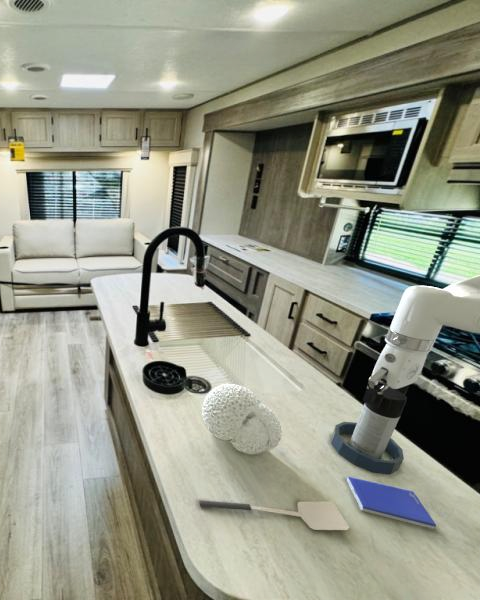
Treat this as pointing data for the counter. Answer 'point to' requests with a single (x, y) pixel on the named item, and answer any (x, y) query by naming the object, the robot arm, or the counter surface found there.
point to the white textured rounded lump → (241, 419)
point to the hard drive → (390, 502)
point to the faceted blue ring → (362, 459)
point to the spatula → (297, 513)
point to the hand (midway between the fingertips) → (382, 399)
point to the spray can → (378, 424)
